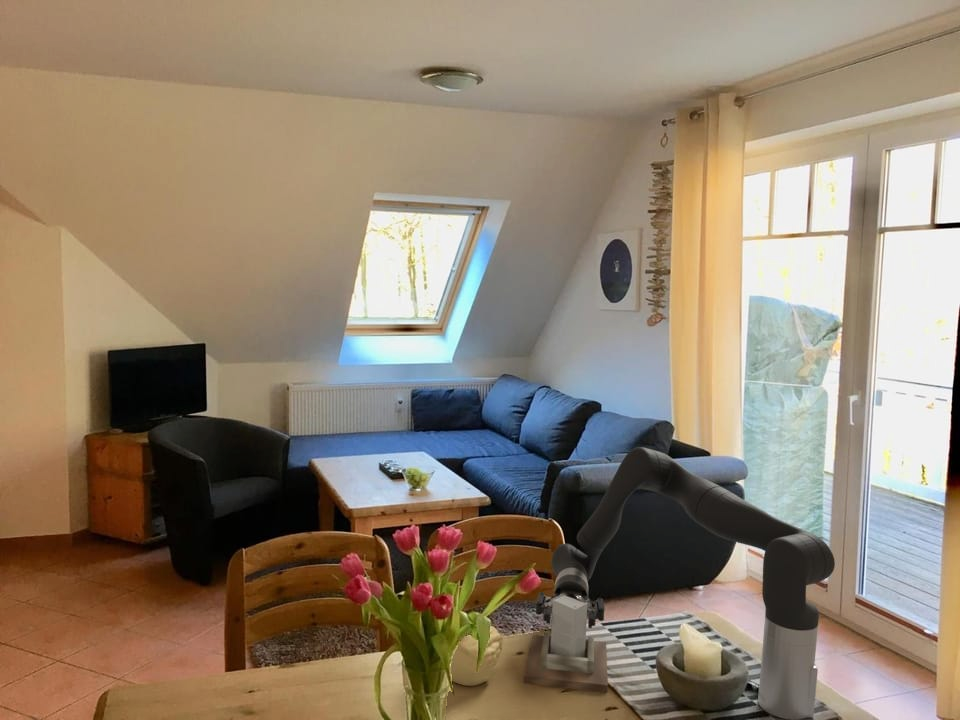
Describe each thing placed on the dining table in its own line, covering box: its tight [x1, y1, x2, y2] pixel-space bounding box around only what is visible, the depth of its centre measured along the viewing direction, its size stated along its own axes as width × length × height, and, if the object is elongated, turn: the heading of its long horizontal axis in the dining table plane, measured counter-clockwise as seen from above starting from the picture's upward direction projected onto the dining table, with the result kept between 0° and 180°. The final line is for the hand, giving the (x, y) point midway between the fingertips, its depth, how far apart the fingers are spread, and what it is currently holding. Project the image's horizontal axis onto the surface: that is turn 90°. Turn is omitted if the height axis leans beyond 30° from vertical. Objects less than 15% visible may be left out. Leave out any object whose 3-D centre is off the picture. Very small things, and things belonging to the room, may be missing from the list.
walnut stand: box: [524, 632, 609, 693], centre depth 160 cm, size 16×18×4 cm
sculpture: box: [451, 625, 504, 687], centre depth 153 cm, size 11×12×11 cm
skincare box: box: [550, 595, 588, 658], centre depth 159 cm, size 6×4×12 cm
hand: (569, 621), depth 159 cm, fingers open, 8 cm apart
